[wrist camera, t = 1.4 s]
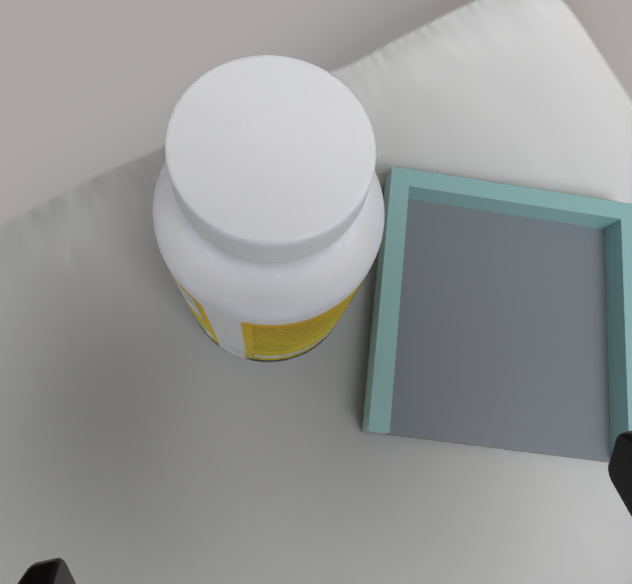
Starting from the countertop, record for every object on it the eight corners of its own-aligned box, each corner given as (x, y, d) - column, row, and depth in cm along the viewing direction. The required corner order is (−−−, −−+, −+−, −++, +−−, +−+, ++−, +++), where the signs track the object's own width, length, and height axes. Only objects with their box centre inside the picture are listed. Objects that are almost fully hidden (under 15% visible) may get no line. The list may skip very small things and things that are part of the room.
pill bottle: (375, 290, 24) (478, 153, 13) (265, 399, 22) (272, 353, 11) (268, 188, 24) (276, -27, 13) (155, 285, 23) (56, 133, 12)
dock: (624, 464, 23) (649, 465, 21) (361, 431, 22) (368, 430, 21) (616, 218, 26) (637, 204, 24) (384, 182, 25) (392, 166, 24)
